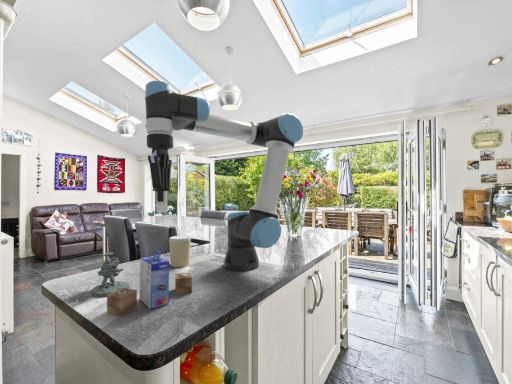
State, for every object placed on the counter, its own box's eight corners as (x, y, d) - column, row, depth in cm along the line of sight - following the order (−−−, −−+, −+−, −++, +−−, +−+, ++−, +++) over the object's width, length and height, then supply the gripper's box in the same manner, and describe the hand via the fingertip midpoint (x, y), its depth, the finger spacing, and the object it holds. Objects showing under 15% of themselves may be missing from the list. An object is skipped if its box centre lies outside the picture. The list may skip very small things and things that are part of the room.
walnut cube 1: (136, 308, 69) (136, 288, 69) (122, 316, 64) (122, 295, 64) (122, 305, 71) (122, 286, 71) (107, 314, 66) (106, 293, 66)
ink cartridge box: (170, 304, 71) (170, 253, 71) (150, 310, 68) (150, 256, 68) (157, 293, 79) (157, 247, 79) (138, 298, 75) (138, 250, 75)
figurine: (87, 299, 75) (87, 259, 75) (94, 287, 85) (94, 251, 85) (127, 293, 79) (127, 255, 79) (129, 282, 89) (129, 248, 89)
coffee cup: (190, 260, 116) (190, 234, 116) (192, 266, 108) (192, 238, 108) (168, 262, 113) (168, 236, 113) (169, 268, 104) (169, 239, 104)
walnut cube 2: (191, 287, 84) (191, 271, 84) (192, 292, 79) (191, 276, 79) (175, 289, 83) (175, 273, 83) (175, 295, 78) (175, 278, 78)
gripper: (156, 139, 83) (158, 210, 84) (137, 130, 70) (140, 214, 71) (179, 138, 83) (181, 210, 84) (164, 129, 70) (166, 214, 71)
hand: (162, 212), depth 77 cm, fingers closed
